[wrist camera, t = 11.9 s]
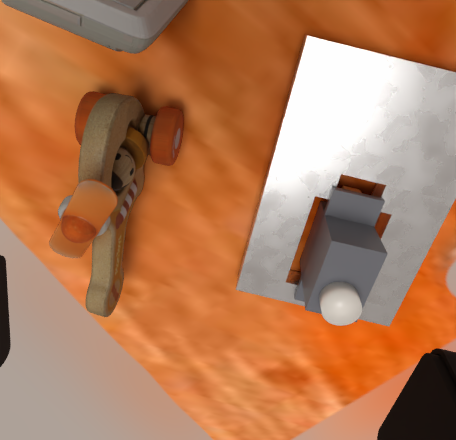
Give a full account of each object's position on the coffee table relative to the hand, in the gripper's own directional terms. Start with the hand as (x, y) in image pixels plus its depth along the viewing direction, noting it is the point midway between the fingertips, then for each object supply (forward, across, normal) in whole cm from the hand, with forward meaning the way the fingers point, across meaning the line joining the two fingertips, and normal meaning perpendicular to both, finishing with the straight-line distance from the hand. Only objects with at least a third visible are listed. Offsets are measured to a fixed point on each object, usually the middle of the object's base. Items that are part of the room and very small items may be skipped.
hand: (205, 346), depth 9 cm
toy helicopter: (+30, +10, +10) cm, 33 cm away
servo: (+30, -10, +12) cm, 34 cm away
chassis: (+30, -11, +6) cm, 32 cm away
